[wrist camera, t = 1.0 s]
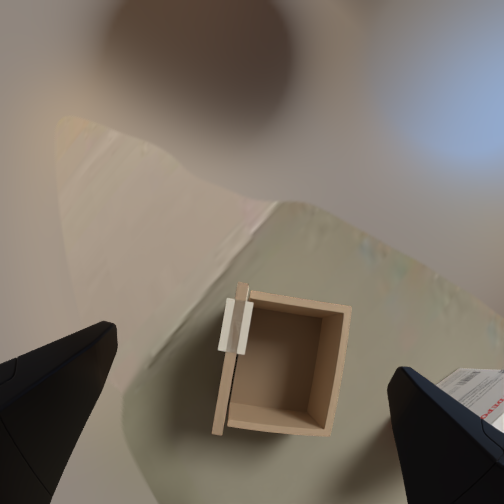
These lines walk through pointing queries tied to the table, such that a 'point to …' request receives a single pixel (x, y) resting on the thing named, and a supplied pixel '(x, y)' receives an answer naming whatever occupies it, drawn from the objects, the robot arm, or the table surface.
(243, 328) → the end flap
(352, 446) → the table surface
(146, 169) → the table surface
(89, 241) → the table surface
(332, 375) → the carton
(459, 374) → the ink box
